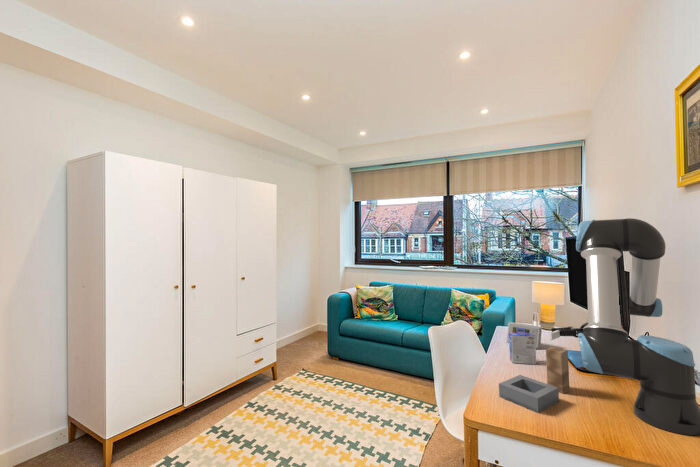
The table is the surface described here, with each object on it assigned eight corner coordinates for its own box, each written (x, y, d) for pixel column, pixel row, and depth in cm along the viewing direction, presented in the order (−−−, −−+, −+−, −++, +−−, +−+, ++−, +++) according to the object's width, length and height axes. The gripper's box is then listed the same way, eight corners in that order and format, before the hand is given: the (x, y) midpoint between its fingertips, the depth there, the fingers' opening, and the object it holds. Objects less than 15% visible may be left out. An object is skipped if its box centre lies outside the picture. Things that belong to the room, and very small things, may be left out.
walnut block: (569, 390, 115) (567, 350, 116) (562, 393, 113) (560, 353, 113) (554, 385, 120) (552, 346, 120) (547, 388, 117) (546, 349, 117)
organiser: (558, 401, 107) (558, 387, 107) (538, 413, 100) (537, 398, 100) (520, 387, 118) (519, 374, 118) (499, 396, 111) (498, 383, 111)
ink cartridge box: (532, 360, 145) (531, 327, 145) (537, 364, 140) (535, 330, 140) (508, 359, 147) (507, 326, 147) (512, 363, 141) (511, 330, 142)
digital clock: (504, 343, 171) (503, 322, 171) (514, 340, 175) (514, 320, 176) (535, 351, 157) (534, 329, 157) (545, 348, 161) (544, 326, 162)
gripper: (632, 348, 123) (610, 360, 112) (561, 333, 144) (536, 342, 133) (632, 328, 123) (609, 338, 112) (560, 316, 144) (535, 324, 133)
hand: (569, 340), depth 122 cm, fingers open, 13 cm apart
